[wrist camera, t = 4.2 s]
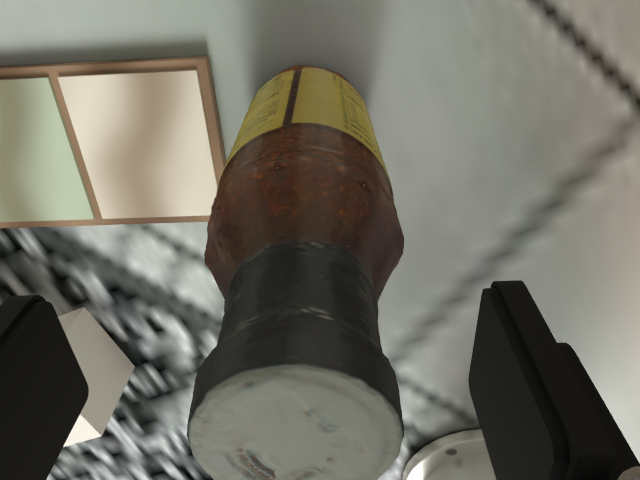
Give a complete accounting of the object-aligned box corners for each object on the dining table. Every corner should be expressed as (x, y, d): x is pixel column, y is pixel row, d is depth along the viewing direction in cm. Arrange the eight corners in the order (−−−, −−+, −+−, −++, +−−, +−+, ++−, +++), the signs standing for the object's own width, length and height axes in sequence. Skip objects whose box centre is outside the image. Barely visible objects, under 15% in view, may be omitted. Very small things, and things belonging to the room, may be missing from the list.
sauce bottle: (262, 179, 28) (145, 549, 11) (241, 66, 25) (28, 336, 8) (377, 169, 27) (445, 540, 10) (371, 51, 24) (455, 307, 7)
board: (208, 55, 24) (204, 59, 24) (234, 214, 29) (231, 222, 28) (-226, 77, 26) (-243, 81, 25) (-134, 227, 30) (-147, 234, 29)
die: (85, 306, 33) (37, 374, 28) (135, 365, 36) (100, 438, 31) (16, 330, 34) (-42, 400, 29) (69, 386, 37) (25, 459, 32)
